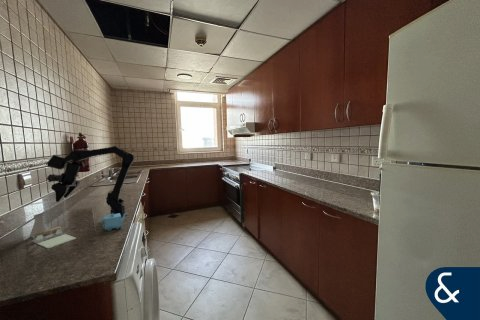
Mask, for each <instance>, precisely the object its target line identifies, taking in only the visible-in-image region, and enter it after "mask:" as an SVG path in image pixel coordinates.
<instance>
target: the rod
mask: <svg viewBox="0 0 480 320" xmlns="http://www.w3.org/2000/svg"><path fill="white" fill-rule="evenodd" d="M57 229H62V228H61V226H60V225H59V226H56V227H53V228H49V230H46V231H42V232H39V233H36V234H34V237H36V236H38V235H41V234H42V235H44V234H47V235H49V234H50V233H53V232H54V231H56V230H57ZM48 233H49V234H48ZM44 236H45V235H44Z"/></svg>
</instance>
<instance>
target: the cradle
mask: <svg viewBox="0 0 480 320" xmlns="http://www.w3.org/2000/svg"><path fill="white" fill-rule="evenodd" d="M64 234H65V233H64V232H63V229H62V228H61V229H57V230H56V231H54V232H52V234H47V235H44V236H42V234H41V235H38V236H36V237H33V238H32V239H33V240H32V241H31V242H33V243H34V244H37V243H40V242H43V241H46V240H49V239H52V238H55V237H58V236H61V235H64Z"/></svg>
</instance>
